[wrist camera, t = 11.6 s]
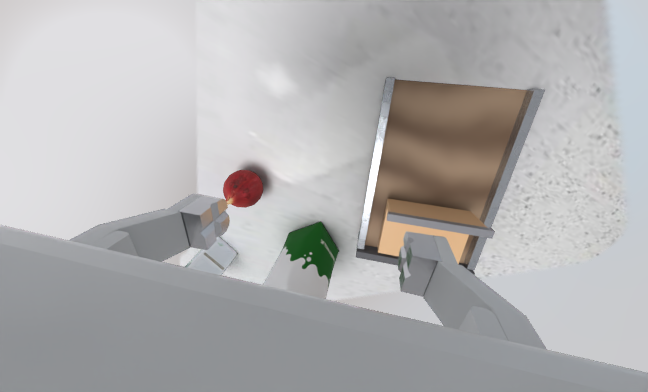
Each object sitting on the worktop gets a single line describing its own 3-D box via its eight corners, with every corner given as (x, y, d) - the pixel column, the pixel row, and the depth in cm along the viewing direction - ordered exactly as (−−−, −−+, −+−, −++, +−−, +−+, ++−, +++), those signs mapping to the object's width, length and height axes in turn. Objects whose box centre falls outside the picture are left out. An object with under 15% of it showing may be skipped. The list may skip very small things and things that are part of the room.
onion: (242, 158, 38) (212, 176, 31) (274, 172, 38) (251, 193, 31) (236, 186, 41) (207, 208, 34) (266, 199, 41) (243, 224, 34)
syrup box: (218, 234, 48) (160, 291, 35) (239, 253, 49) (191, 315, 36) (204, 246, 50) (146, 303, 38) (224, 264, 51) (175, 325, 39)
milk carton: (345, 252, 43) (323, 372, 26) (305, 264, 46) (261, 376, 29) (323, 215, 40) (281, 321, 23) (282, 230, 44) (218, 332, 26)
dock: (386, 77, 30) (387, 77, 24) (533, 88, 27) (570, 91, 22) (358, 234, 41) (355, 257, 36) (459, 252, 39) (471, 279, 34)
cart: (386, 190, 33) (388, 214, 27) (473, 203, 31) (495, 232, 25) (375, 238, 37) (375, 268, 31) (452, 252, 35) (466, 287, 30)
